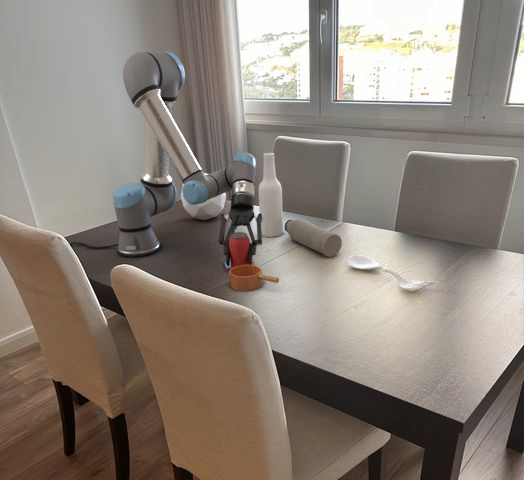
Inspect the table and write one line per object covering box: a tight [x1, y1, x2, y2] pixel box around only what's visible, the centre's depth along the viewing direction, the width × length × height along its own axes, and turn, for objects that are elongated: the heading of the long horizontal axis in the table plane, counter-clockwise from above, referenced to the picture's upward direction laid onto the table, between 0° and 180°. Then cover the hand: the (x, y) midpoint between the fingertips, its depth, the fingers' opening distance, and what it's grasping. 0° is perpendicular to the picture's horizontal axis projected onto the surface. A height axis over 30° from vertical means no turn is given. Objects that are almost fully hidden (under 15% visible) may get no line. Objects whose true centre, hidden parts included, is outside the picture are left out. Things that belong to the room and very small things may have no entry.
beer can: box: [229, 231, 251, 269], centre depth 157 cm, size 7×7×12 cm
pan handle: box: [258, 273, 280, 284], centre depth 146 cm, size 7×2×2 cm, turn 56°
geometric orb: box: [180, 172, 227, 221], centre depth 212 cm, size 19×20×20 cm
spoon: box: [346, 254, 435, 292], centre depth 150 cm, size 9×32×4 cm, turn 30°
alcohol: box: [258, 152, 284, 238], centre depth 186 cm, size 9×9×30 cm
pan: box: [228, 264, 263, 292], centre depth 151 cm, size 10×10×4 cm
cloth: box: [224, 260, 231, 271], centre depth 166 cm, size 6×9×1 cm
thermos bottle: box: [284, 218, 343, 258], centre depth 178 cm, size 8×8×28 cm
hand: (238, 264), depth 155 cm, fingers closed on beer can, 7 cm apart
